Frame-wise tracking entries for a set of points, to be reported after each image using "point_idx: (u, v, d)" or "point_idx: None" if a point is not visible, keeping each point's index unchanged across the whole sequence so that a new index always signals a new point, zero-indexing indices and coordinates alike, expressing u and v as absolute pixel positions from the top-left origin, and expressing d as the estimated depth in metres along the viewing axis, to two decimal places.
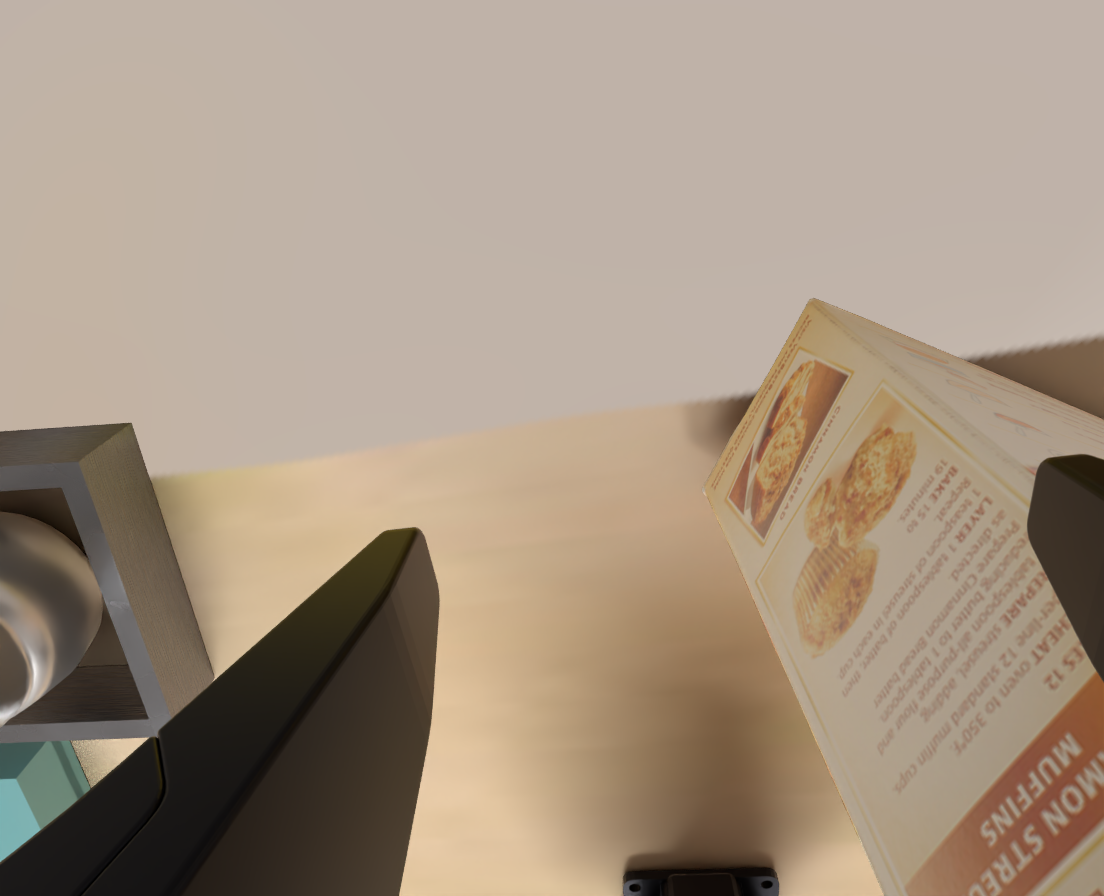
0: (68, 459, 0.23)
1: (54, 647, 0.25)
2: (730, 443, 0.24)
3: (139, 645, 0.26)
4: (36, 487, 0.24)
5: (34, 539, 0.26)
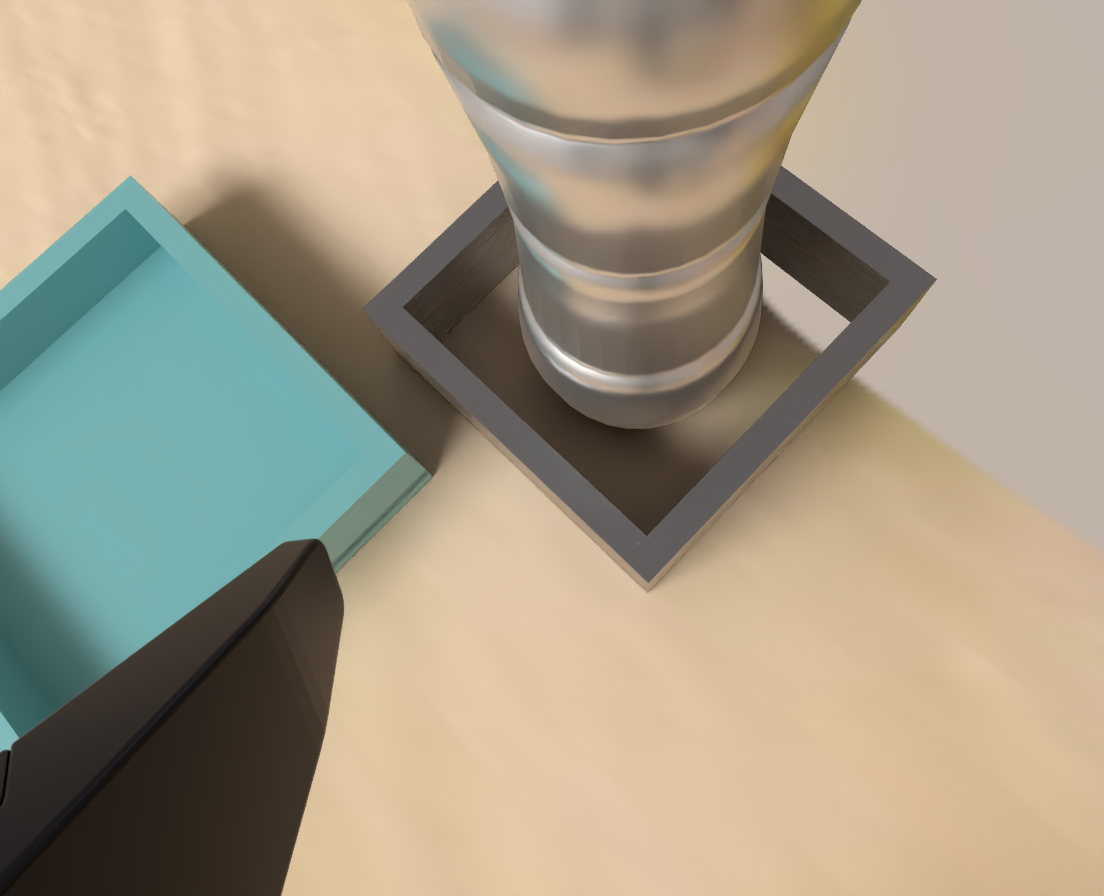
0: (918, 272, 0.20)
1: (708, 373, 0.19)
2: None
3: (753, 461, 0.19)
4: (868, 262, 0.20)
5: None
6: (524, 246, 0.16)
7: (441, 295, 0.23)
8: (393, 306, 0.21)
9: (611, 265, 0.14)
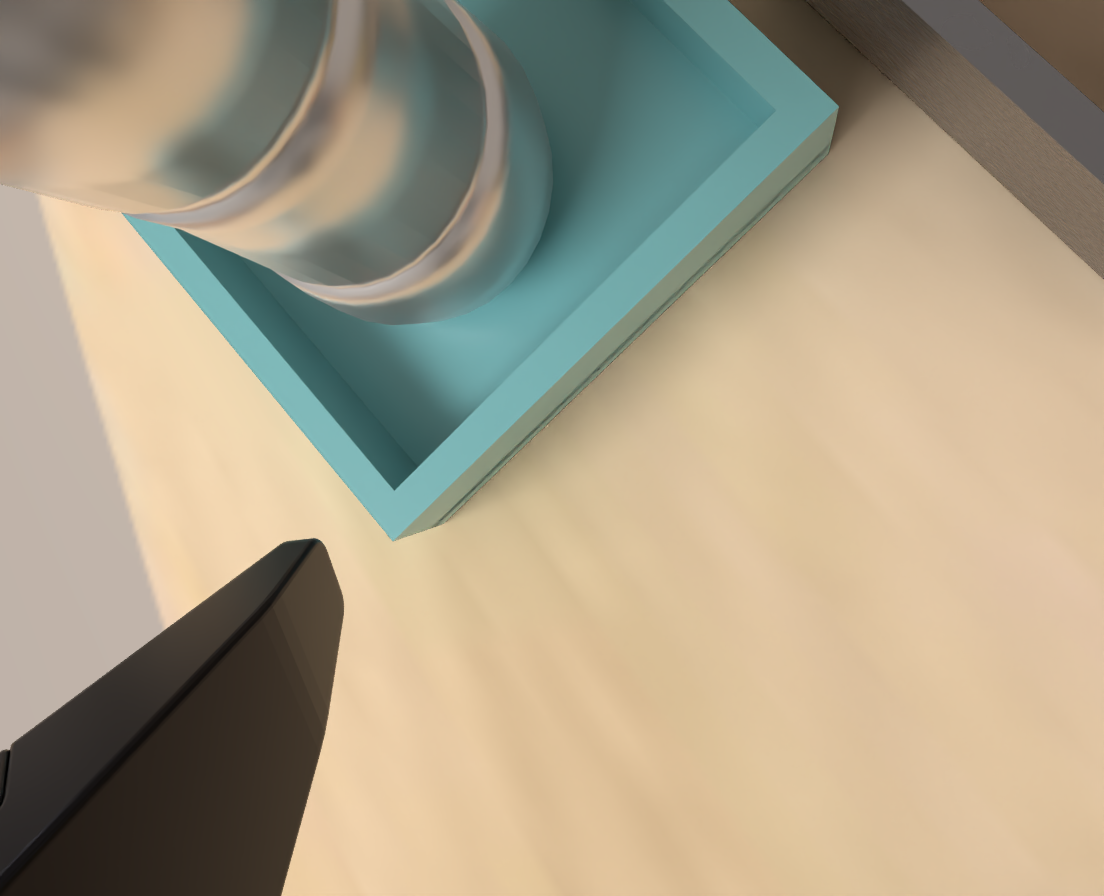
0: None
1: (491, 219, 0.15)
2: None
3: None
4: None
5: None
6: None
7: None
8: None
9: (179, 198, 0.10)
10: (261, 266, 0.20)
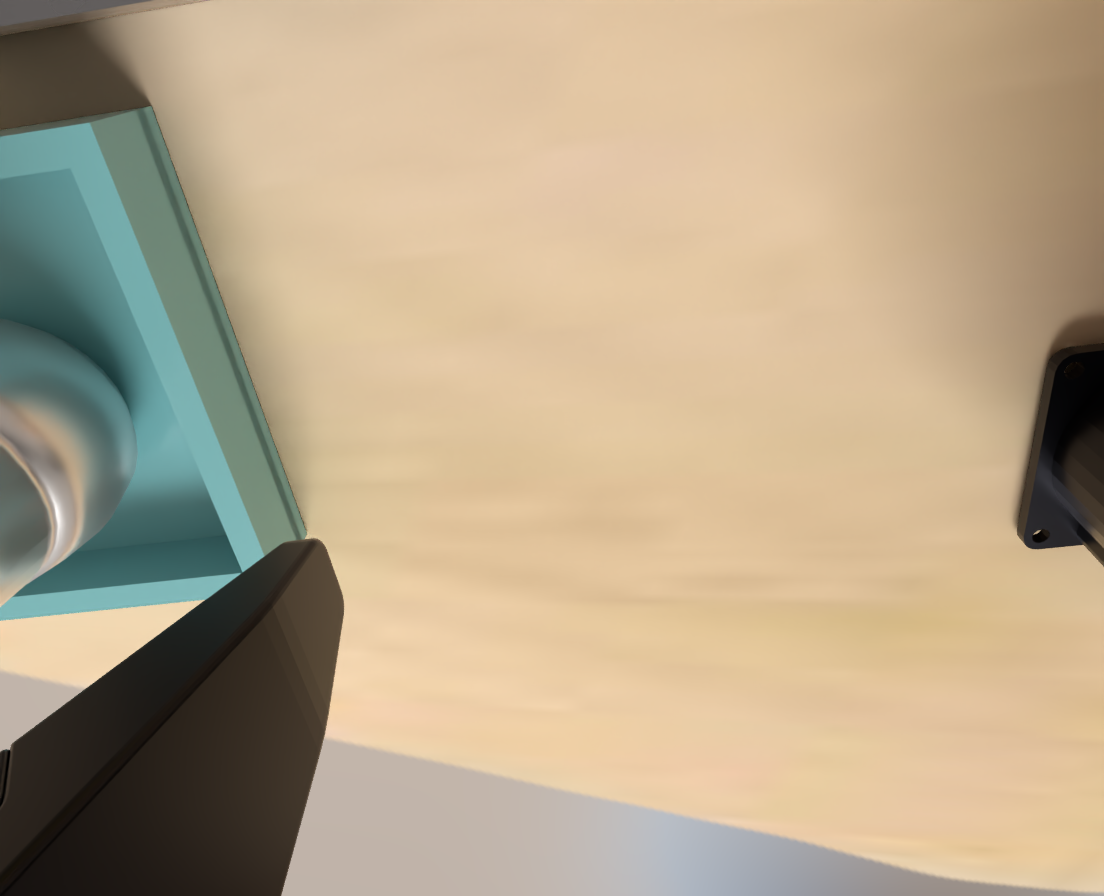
0: None
1: (49, 432, 0.18)
2: None
3: None
4: None
5: None
6: None
7: None
8: None
9: None
10: None
